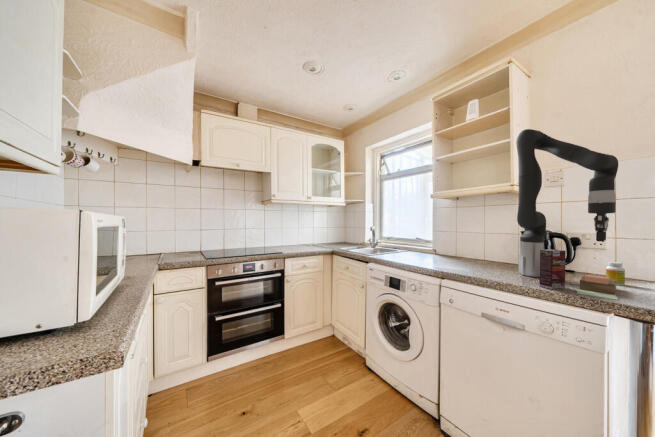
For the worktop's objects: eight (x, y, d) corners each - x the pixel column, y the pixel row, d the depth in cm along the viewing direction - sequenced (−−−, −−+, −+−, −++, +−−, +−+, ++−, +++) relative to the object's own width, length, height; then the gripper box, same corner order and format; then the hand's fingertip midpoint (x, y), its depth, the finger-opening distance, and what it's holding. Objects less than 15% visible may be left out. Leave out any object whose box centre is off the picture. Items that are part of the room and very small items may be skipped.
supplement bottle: (619, 286, 103) (619, 263, 103) (602, 282, 108) (602, 261, 108) (628, 285, 104) (628, 263, 104) (611, 282, 109) (611, 261, 109)
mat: (577, 293, 91) (577, 292, 91) (577, 290, 96) (577, 289, 96) (617, 300, 84) (617, 299, 84) (615, 295, 89) (615, 295, 89)
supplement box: (552, 289, 97) (552, 251, 97) (538, 286, 101) (538, 249, 101) (566, 288, 99) (566, 250, 99) (552, 284, 104) (552, 248, 104)
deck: (584, 284, 105) (584, 275, 105) (615, 289, 98) (615, 279, 98) (579, 289, 96) (579, 280, 96) (614, 295, 89) (614, 284, 89)
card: (586, 279, 98) (586, 274, 98) (609, 282, 93) (609, 277, 93) (585, 281, 95) (585, 276, 95) (608, 284, 90) (608, 279, 90)
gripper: (589, 203, 105) (589, 239, 105) (586, 201, 97) (585, 240, 97) (616, 202, 100) (616, 240, 99) (614, 200, 91) (614, 242, 91)
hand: (601, 240), depth 98 cm, fingers open, 8 cm apart
